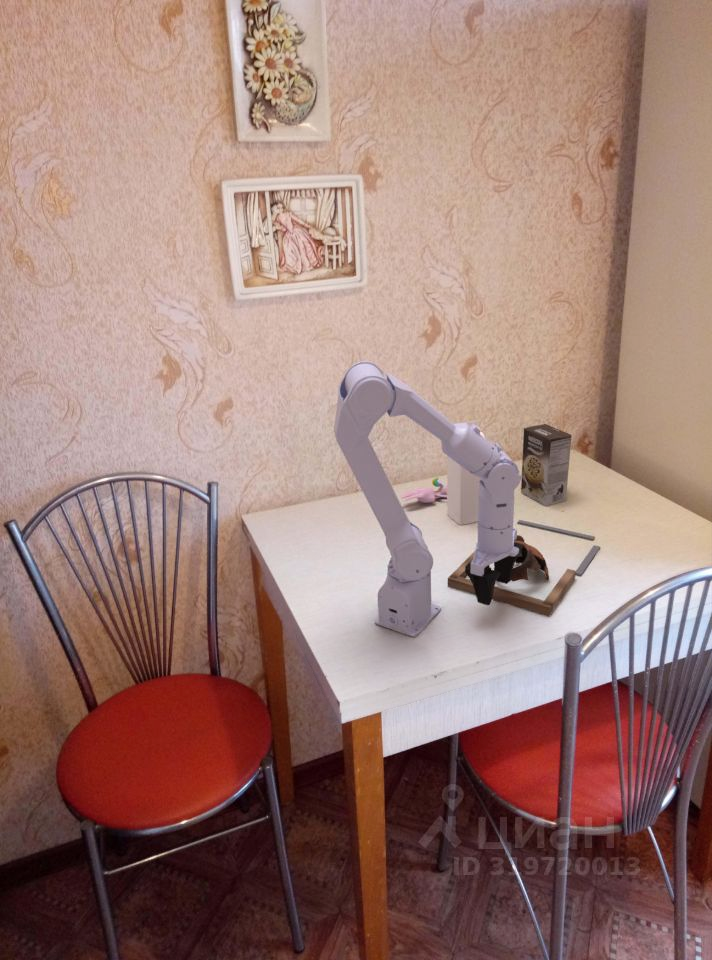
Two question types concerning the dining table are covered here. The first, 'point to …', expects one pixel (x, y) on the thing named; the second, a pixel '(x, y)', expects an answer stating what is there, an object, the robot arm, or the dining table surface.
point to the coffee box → (545, 464)
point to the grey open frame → (566, 532)
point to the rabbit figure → (427, 493)
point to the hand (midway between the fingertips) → (493, 592)
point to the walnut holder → (512, 598)
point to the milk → (462, 491)
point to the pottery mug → (528, 561)
